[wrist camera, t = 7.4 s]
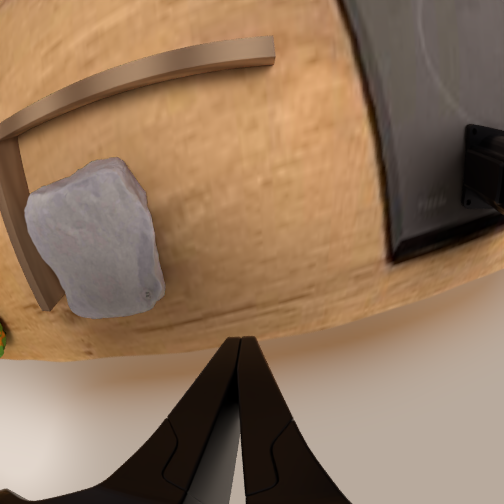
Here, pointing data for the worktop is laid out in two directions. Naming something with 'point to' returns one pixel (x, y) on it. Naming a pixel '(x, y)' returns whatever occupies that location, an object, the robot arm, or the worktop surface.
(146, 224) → the stone block
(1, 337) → the corn
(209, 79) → the worktop surface
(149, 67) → the corner walls
